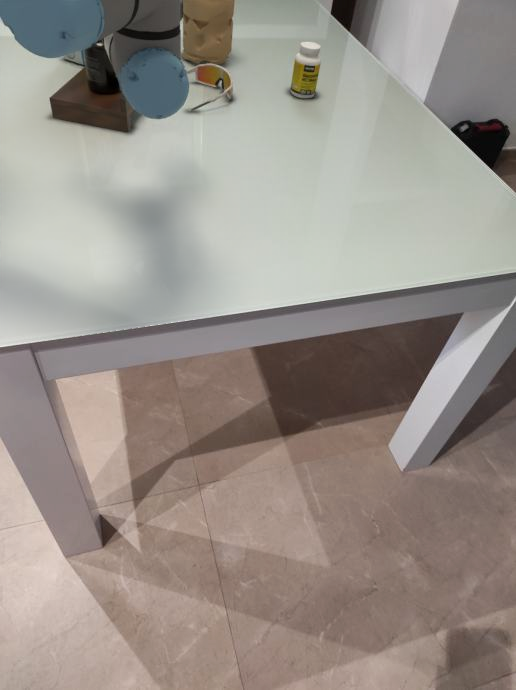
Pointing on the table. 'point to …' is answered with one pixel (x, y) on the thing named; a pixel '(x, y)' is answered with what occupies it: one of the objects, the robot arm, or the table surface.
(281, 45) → the table surface
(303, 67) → the pill bottle
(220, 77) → the sunglasses
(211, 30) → the container
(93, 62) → the supplement bottle
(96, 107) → the shelf
